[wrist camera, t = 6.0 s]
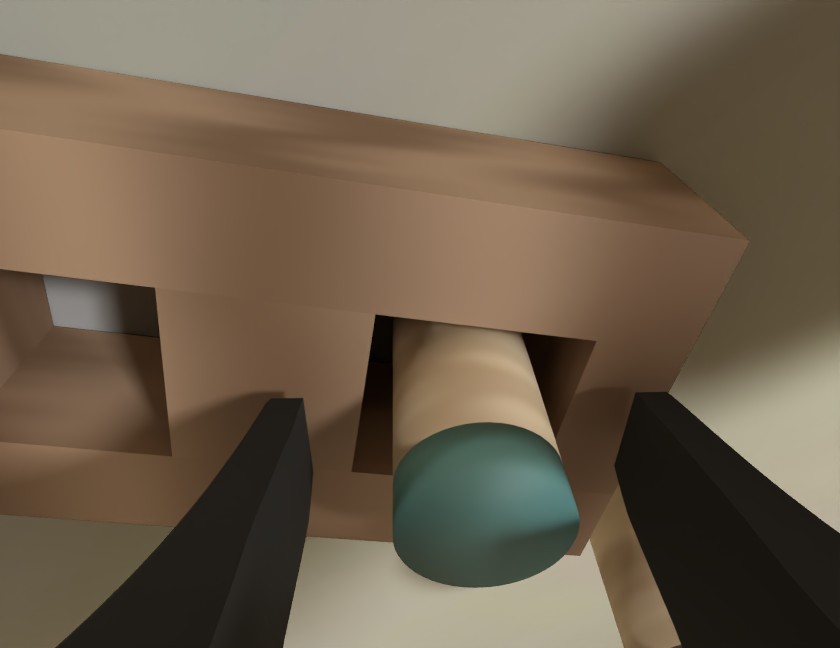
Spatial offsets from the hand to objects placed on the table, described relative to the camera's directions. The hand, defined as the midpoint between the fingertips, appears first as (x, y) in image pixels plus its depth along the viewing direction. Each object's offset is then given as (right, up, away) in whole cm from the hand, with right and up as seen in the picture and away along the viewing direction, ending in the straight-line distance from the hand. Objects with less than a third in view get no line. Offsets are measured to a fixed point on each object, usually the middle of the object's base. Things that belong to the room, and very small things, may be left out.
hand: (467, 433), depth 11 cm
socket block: (-4, +3, +3) cm, 6 cm away
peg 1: (0, +3, +4) cm, 5 cm away
